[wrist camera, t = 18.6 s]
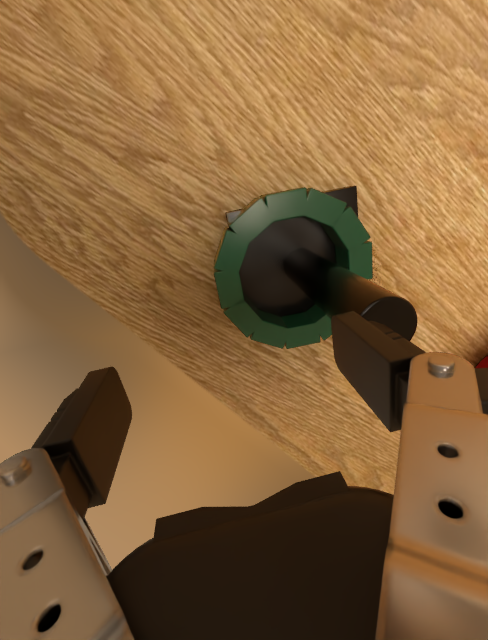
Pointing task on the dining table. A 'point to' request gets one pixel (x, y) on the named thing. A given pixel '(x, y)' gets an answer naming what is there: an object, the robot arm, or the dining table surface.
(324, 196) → the ring
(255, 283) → the post
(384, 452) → the dining table surface
